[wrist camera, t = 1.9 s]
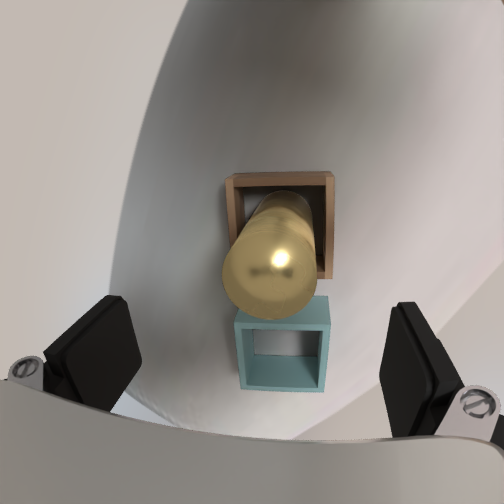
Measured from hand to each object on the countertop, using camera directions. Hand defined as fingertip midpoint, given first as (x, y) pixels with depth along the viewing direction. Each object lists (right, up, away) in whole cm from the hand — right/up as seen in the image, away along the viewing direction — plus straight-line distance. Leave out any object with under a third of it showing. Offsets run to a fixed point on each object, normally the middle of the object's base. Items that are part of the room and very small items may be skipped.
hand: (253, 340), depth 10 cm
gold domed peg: (+2, +5, +12) cm, 13 cm away
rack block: (+3, -4, +15) cm, 16 cm away
